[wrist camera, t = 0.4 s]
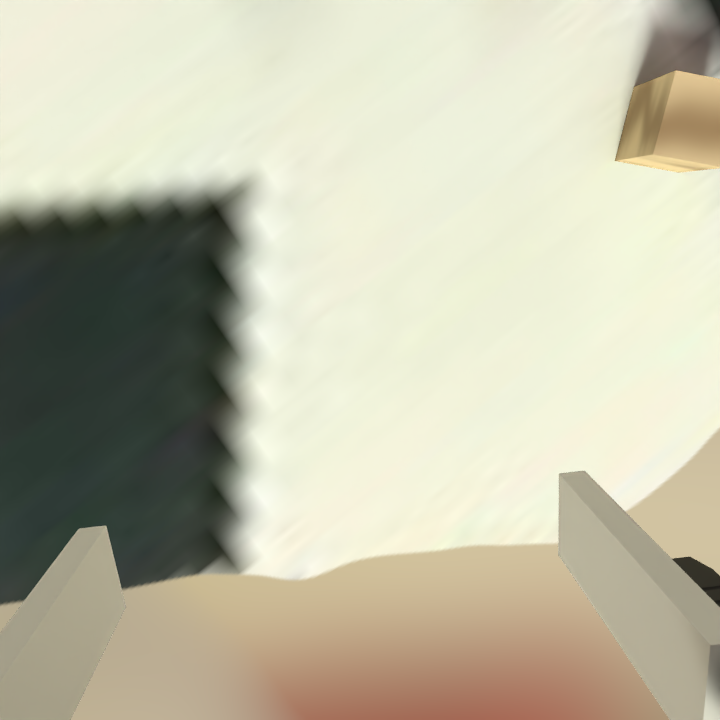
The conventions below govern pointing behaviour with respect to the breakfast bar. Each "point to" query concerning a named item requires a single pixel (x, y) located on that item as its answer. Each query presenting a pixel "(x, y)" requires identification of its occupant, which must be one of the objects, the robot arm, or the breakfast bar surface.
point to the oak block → (673, 124)
